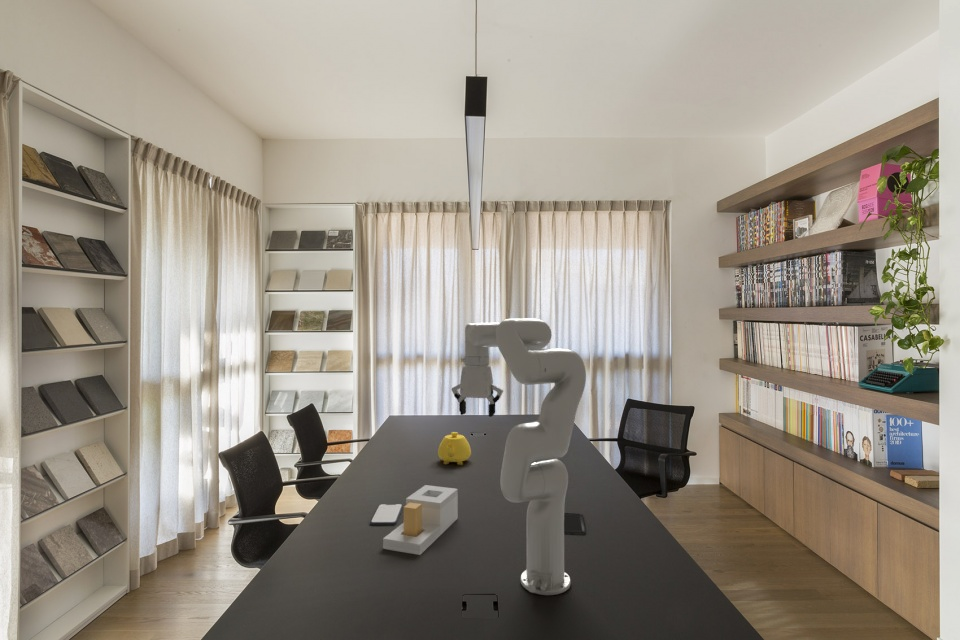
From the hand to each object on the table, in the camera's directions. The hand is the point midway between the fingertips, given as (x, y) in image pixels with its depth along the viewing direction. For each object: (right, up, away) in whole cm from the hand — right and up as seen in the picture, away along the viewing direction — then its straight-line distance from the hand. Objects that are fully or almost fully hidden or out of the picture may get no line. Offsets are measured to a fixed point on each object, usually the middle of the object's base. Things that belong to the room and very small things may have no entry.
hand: (477, 415), depth 164 cm
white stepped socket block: (-17, -36, -3) cm, 40 cm away
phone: (+31, -37, +3) cm, 48 cm away
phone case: (-31, -37, +11) cm, 49 cm away
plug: (-19, -36, -10) cm, 42 cm away
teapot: (-11, -36, +74) cm, 83 cm away
